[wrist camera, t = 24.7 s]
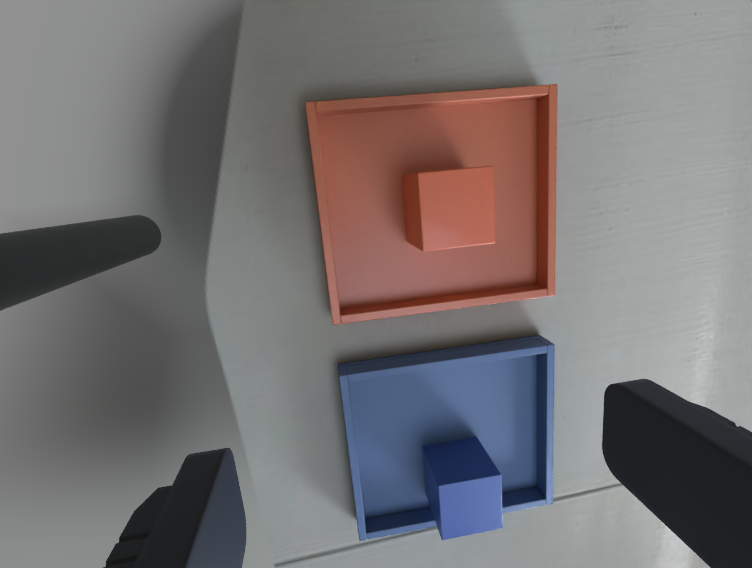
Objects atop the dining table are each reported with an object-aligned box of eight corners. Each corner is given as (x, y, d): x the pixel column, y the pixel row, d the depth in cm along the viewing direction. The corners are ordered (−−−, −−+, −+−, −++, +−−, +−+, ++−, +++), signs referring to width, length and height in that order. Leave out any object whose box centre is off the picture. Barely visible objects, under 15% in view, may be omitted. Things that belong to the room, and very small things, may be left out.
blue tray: (357, 520, 34) (359, 541, 32) (337, 363, 31) (339, 376, 29) (539, 486, 36) (552, 503, 34) (540, 334, 33) (554, 344, 31)
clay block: (406, 242, 29) (422, 251, 24) (401, 175, 28) (417, 172, 23) (469, 235, 29) (496, 243, 25) (466, 169, 28) (494, 165, 24)
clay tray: (331, 315, 30) (332, 325, 28) (305, 108, 27) (304, 101, 24) (540, 288, 32) (555, 295, 30) (540, 91, 28) (557, 83, 26)
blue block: (425, 494, 34) (441, 540, 29) (421, 445, 33) (438, 486, 28) (479, 484, 34) (502, 528, 30) (477, 436, 33) (501, 474, 29)
